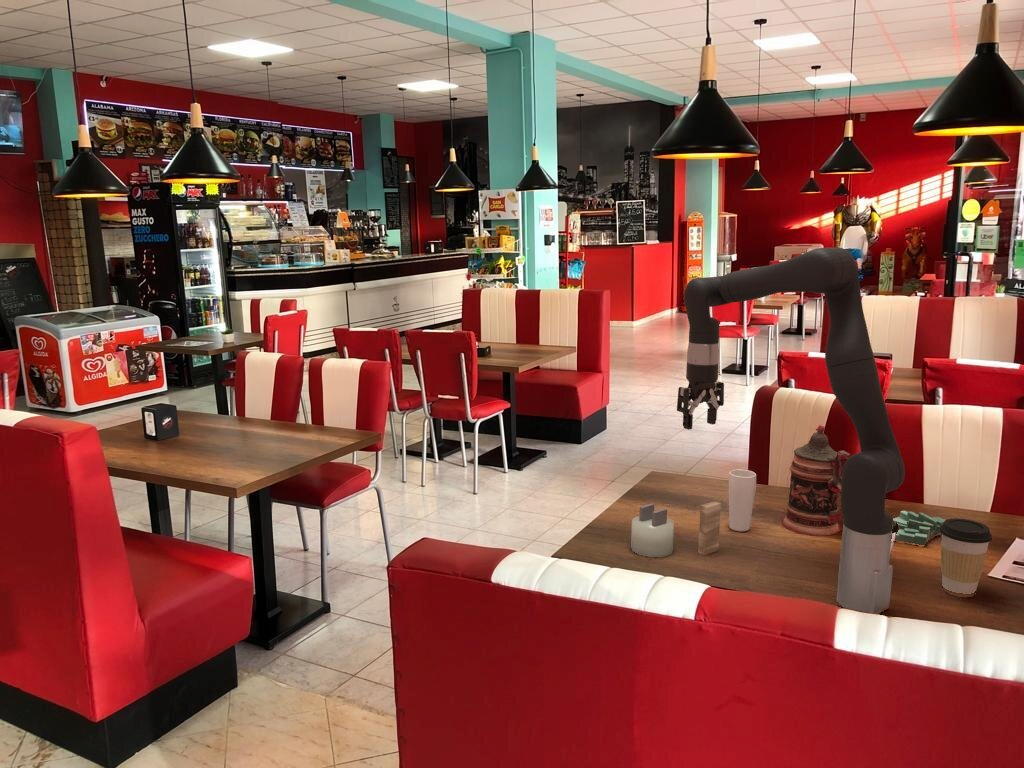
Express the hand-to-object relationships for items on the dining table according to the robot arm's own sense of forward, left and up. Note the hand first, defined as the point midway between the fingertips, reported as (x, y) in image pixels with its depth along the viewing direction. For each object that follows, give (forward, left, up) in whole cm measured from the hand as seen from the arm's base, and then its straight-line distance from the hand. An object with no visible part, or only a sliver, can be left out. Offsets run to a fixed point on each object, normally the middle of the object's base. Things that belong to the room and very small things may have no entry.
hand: (699, 426), depth 198 cm
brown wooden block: (-8, +4, -29) cm, 30 cm away
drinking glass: (-3, -14, -29) cm, 33 cm away
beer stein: (-14, -30, -29) cm, 44 cm away
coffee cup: (-54, -23, -29) cm, 65 cm away
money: (-30, -48, -30) cm, 64 cm away
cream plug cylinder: (+1, +14, -29) cm, 32 cm away
